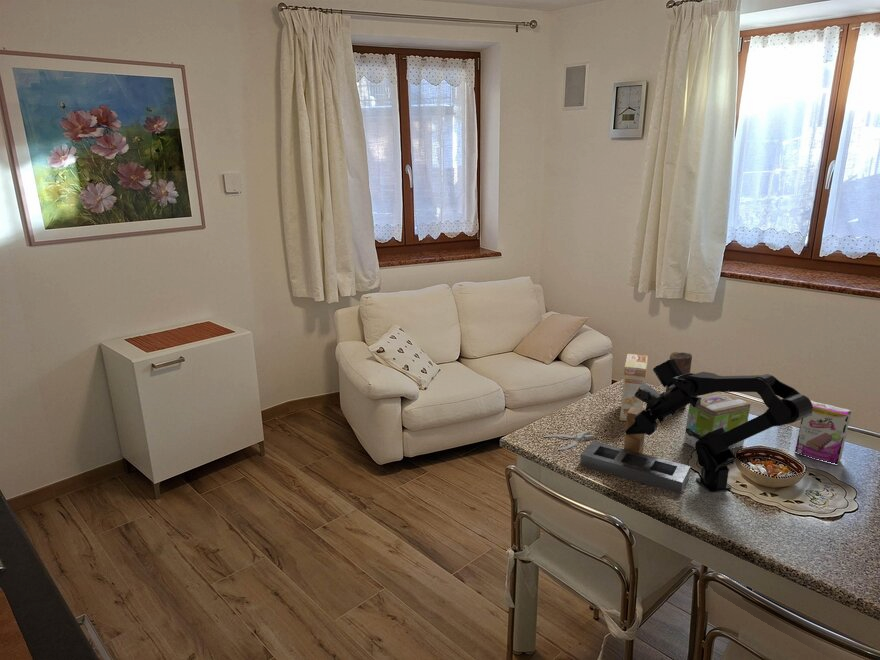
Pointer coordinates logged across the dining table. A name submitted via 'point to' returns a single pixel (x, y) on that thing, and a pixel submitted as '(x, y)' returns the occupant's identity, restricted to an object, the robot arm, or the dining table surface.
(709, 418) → the tea box
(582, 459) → the grey long block
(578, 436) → the pliers
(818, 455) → the candy bar box
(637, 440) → the peg
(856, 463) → the dining table surface
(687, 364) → the candle
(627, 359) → the coffeecake box
